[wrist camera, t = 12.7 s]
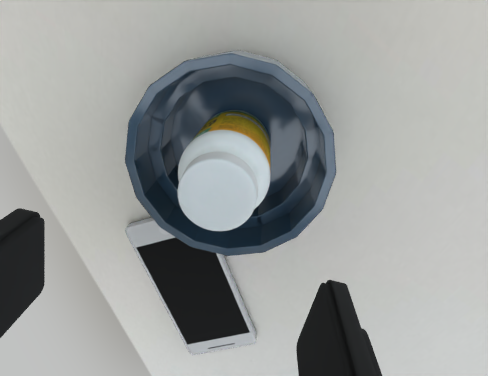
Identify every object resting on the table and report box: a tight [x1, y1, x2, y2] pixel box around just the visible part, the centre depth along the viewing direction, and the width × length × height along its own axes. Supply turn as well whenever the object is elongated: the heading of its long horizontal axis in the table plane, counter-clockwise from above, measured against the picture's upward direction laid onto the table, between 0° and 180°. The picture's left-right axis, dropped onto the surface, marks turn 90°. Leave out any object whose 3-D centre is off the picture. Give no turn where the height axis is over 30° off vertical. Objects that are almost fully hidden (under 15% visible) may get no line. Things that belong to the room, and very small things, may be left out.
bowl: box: [125, 50, 336, 256], centre depth 24 cm, size 13×13×6 cm
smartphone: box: [125, 218, 256, 355], centre depth 32 cm, size 7×16×1 cm, turn 19°
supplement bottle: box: [177, 110, 271, 231], centre depth 21 cm, size 5×5×10 cm
